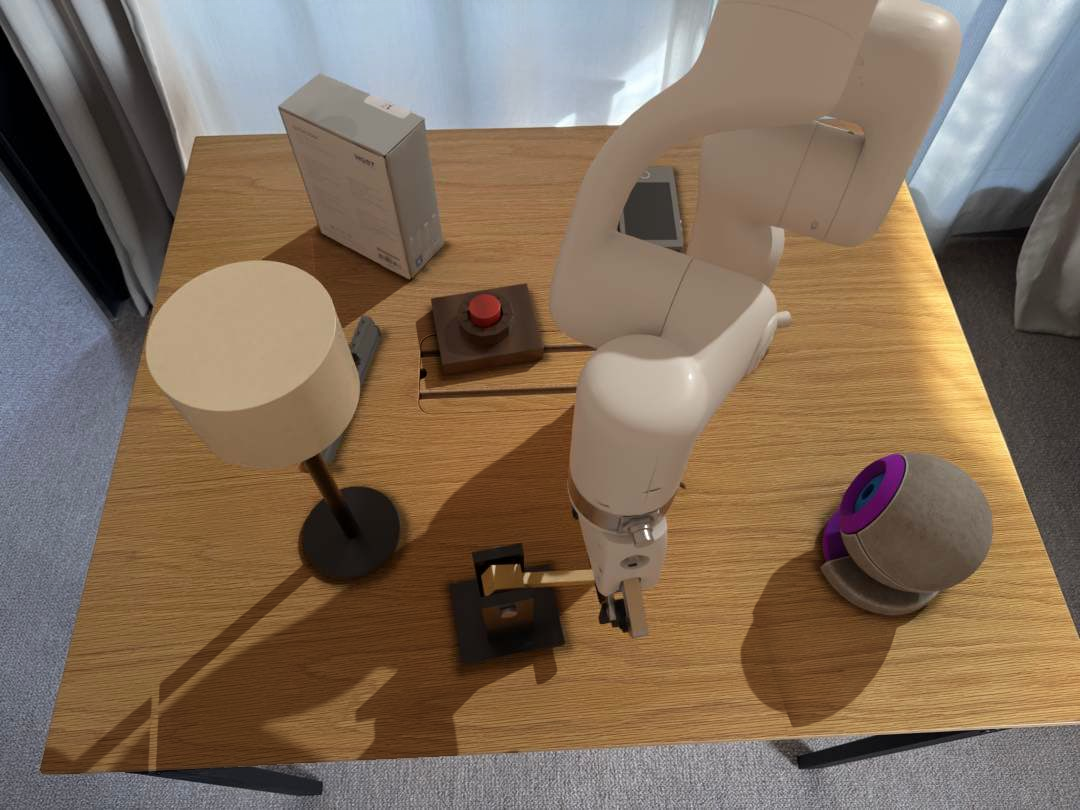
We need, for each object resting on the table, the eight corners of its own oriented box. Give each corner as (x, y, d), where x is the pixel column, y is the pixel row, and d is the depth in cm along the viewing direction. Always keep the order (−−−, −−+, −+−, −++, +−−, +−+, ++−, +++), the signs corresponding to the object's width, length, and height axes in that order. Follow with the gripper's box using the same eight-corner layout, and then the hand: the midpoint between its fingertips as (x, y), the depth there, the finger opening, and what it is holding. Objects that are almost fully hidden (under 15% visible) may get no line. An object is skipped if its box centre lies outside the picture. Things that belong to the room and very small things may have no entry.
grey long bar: (335, 472, 84) (326, 455, 80) (312, 468, 84) (302, 450, 81) (386, 336, 93) (380, 315, 90) (365, 332, 94) (358, 311, 90)
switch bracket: (547, 568, 79) (549, 520, 68) (565, 646, 74) (570, 608, 64) (450, 587, 77) (436, 542, 66) (463, 668, 73) (450, 633, 62)
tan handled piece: (594, 555, 74) (606, 545, 72) (607, 606, 71) (620, 597, 69) (478, 560, 68) (488, 549, 66) (487, 615, 65) (498, 605, 64)
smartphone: (684, 250, 101) (685, 247, 100) (621, 251, 100) (622, 247, 100) (672, 170, 108) (673, 166, 108) (614, 170, 108) (615, 166, 108)
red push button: (497, 301, 92) (497, 291, 90) (503, 324, 90) (502, 315, 88) (467, 305, 91) (466, 296, 90) (472, 329, 90) (471, 320, 88)
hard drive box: (446, 244, 101) (428, 118, 84) (411, 282, 98) (384, 159, 81) (354, 198, 105) (319, 69, 88) (317, 233, 102) (273, 106, 85)
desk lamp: (405, 474, 84) (329, 248, 53) (419, 579, 78) (342, 392, 47) (294, 495, 83) (149, 274, 52) (299, 603, 77) (139, 427, 46)
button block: (527, 294, 97) (526, 273, 93) (543, 358, 92) (543, 338, 88) (432, 309, 96) (428, 288, 92) (444, 375, 91) (440, 356, 87)
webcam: (841, 476, 84) (896, 406, 71) (958, 532, 81) (1038, 470, 68) (798, 575, 78) (849, 518, 65) (922, 640, 75) (1002, 594, 62)
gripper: (715, 586, 49) (672, 653, 63) (641, 365, 57) (618, 469, 72) (600, 610, 48) (584, 672, 62) (543, 382, 57) (540, 484, 71)
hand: (602, 563), depth 67 cm, fingers open, 9 cm apart
